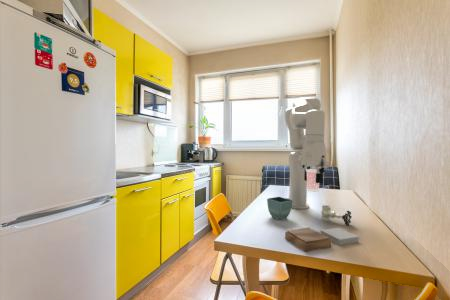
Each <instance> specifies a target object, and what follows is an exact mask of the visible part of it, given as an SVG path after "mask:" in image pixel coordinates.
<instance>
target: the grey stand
mask: <svg viewBox="0 0 450 300" xmlns="http://www.w3.org/2000/svg"><path fill="white" fill-rule="evenodd" d="M320 233H321V234H323V235H324V236H326V237H328V238H329V239H330V240H331V242H333V243H335V244H336V245H339V246H343V245H349V243H350V244H354V242H355V243H359V240H360V239H359V236H358V235H356V234H353V233H352V232H349V231H347V230H345V229H343V228H341V227H333V228H325V229H320Z"/></svg>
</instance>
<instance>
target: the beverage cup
mask: <svg viewBox="0 0 450 300" xmlns="http://www.w3.org/2000/svg"><path fill="white" fill-rule="evenodd" d="M306 172H307V192H310V193H311V192H312V193H319V192H320V191H319V190H320V183H316V173H317V170H316V168H314V166H313V168H311V169H306Z"/></svg>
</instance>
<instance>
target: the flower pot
mask: <svg viewBox="0 0 450 300" xmlns="http://www.w3.org/2000/svg"><path fill="white" fill-rule="evenodd" d="M286 198H287V197H281V196H276V197H275V196H274V197H270V198H269V197H268V198H266V201H267V210H268V212H269V215H270V216H271V218H274V219H277V220H279V221H281V220H285V219H287V218H288V217H289V216H290V213H291V212H292V208H291V207H292V201H293V200H290V199H286Z"/></svg>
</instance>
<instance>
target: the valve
mask: <svg viewBox="0 0 450 300" xmlns="http://www.w3.org/2000/svg"><path fill="white" fill-rule="evenodd" d="M321 209H322V210H321V211H320V213H321V220H322V221H324V220H325V221H324V222H331V219H335V218H337V219H342V220H343V222H344V225H346V226H350V224H351V223H352V221H351V219H352V215H351V214H352V212H351V211H350V210H346V213H344V214H342V215H341V213H336V211H333V210H331V205H326V204H324V205H322V207H321Z"/></svg>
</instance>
